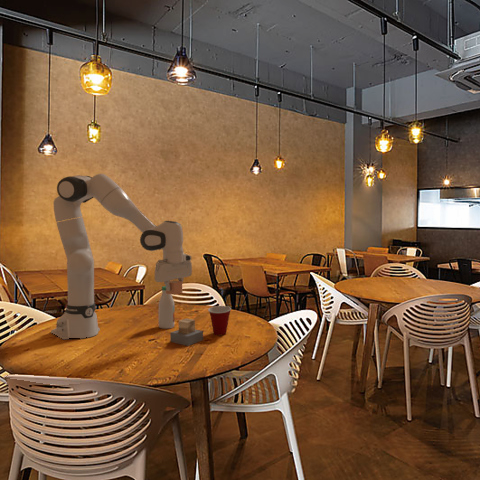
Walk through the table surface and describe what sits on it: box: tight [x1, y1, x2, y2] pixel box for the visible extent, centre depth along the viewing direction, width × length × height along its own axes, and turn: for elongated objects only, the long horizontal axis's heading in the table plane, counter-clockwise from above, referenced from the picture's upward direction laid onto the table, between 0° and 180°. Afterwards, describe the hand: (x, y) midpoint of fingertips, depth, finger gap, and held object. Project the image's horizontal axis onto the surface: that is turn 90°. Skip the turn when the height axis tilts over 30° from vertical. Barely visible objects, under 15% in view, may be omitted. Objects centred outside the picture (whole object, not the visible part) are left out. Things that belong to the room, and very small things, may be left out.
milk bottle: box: [158, 286, 175, 330], centre depth 193 cm, size 8×8×20 cm
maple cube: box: [178, 318, 196, 334], centre depth 171 cm, size 5×5×5 cm
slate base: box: [169, 328, 204, 347], centre depth 172 cm, size 10×10×4 cm
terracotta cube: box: [166, 280, 183, 295], centre depth 173 cm, size 5×5×5 cm
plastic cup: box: [207, 305, 232, 336], centre depth 183 cm, size 11×11×12 cm
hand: (174, 289), depth 173 cm, fingers closed on terracotta cube, 5 cm apart
